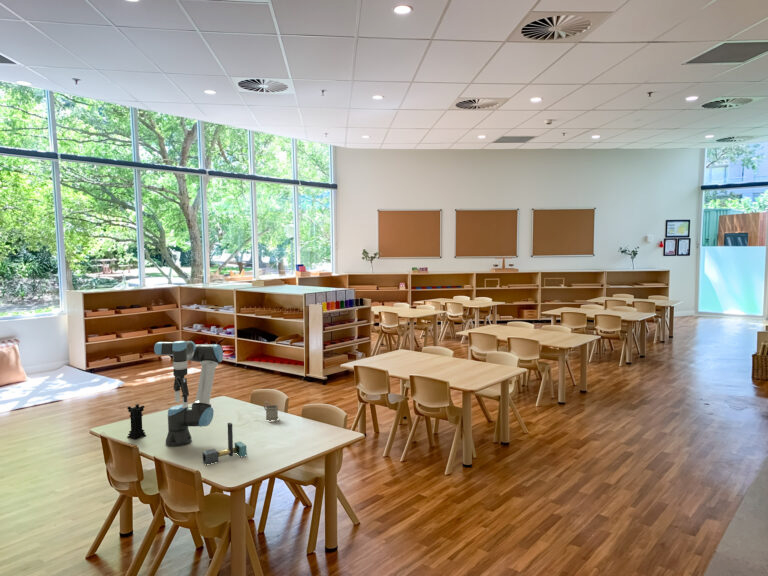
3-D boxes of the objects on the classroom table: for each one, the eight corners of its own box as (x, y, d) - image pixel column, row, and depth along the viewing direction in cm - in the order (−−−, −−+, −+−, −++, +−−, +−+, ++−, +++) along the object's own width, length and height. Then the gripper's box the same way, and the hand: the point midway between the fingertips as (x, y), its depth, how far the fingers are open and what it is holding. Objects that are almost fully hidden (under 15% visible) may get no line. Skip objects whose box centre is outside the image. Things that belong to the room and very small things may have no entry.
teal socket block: (234, 453, 300) (234, 442, 300) (240, 451, 302) (240, 441, 302) (240, 457, 293) (240, 447, 293) (246, 456, 296) (246, 445, 295)
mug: (281, 419, 361) (281, 403, 360) (270, 423, 354) (270, 406, 353) (269, 415, 371) (269, 399, 370) (258, 418, 363) (258, 402, 363)
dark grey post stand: (212, 459, 289) (211, 426, 288) (239, 452, 299) (239, 420, 298) (214, 460, 286) (213, 427, 285) (241, 453, 297) (241, 421, 296)
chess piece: (138, 433, 334) (137, 404, 333) (146, 435, 330) (145, 405, 328) (127, 437, 327) (126, 407, 326) (134, 439, 323) (133, 409, 322)
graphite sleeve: (202, 462, 287) (202, 451, 286) (214, 459, 291) (214, 448, 291) (206, 465, 282) (205, 454, 282) (218, 462, 287) (218, 451, 286)
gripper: (167, 365, 296) (168, 401, 298) (180, 373, 277) (181, 411, 278) (180, 363, 301) (181, 398, 302) (194, 371, 281) (195, 408, 283)
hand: (181, 404), depth 290 cm, fingers open, 13 cm apart
